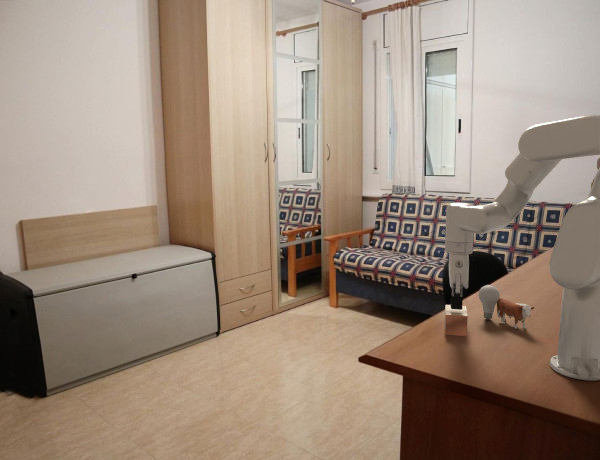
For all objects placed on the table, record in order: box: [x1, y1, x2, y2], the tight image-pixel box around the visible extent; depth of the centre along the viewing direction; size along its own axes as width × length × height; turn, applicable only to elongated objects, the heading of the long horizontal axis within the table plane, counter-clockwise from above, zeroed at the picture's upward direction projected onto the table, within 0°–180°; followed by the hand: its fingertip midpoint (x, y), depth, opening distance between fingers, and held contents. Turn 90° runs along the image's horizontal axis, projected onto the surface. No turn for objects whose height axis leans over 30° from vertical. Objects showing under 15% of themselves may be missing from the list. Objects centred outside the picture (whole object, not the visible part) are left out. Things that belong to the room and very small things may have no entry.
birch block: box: [444, 304, 469, 337], centre depth 149 cm, size 6×6×9 cm
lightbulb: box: [478, 284, 501, 321], centre depth 156 cm, size 6×6×11 cm
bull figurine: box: [496, 297, 535, 330], centre depth 151 cm, size 4×13×8 cm, turn 21°
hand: (456, 308), depth 147 cm, fingers closed
